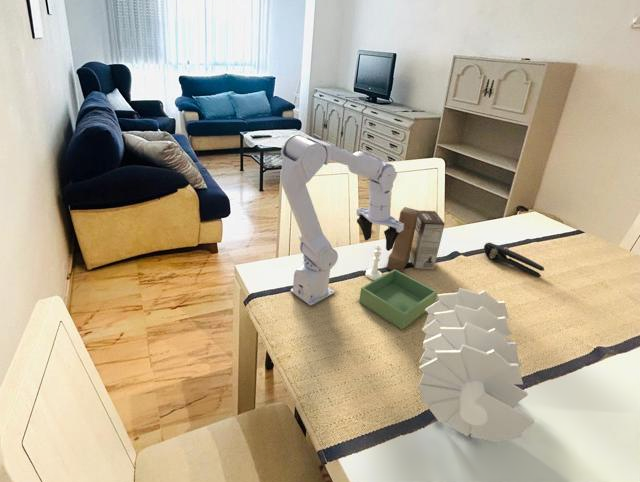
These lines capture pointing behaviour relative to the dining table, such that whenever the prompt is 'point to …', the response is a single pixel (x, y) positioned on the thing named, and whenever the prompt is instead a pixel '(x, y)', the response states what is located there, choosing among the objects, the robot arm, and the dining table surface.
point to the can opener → (500, 254)
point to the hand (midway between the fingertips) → (378, 243)
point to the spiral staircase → (472, 367)
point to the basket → (397, 298)
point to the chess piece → (374, 266)
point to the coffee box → (426, 240)
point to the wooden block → (403, 240)
